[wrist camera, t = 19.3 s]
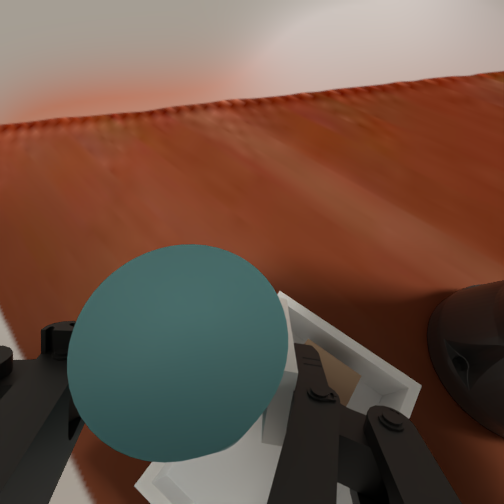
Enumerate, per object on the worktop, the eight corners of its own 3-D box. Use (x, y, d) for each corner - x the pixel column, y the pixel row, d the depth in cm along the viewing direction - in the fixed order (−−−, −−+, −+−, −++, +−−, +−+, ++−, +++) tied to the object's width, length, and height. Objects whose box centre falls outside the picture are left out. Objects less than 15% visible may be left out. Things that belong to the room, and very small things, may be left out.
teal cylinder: (209, 338, 19) (182, 216, 9) (272, 392, 17) (327, 317, 7) (148, 408, 17) (19, 348, 7) (215, 477, 15) (182, 534, 5)
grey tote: (273, 313, 33) (279, 290, 28) (389, 394, 29) (421, 385, 24) (153, 476, 25) (134, 485, 20) (294, 619, 21) (312, 675, 16)
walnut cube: (297, 352, 30) (308, 338, 25) (342, 385, 28) (361, 375, 24) (269, 397, 27) (275, 389, 23) (316, 435, 26) (332, 434, 22)
